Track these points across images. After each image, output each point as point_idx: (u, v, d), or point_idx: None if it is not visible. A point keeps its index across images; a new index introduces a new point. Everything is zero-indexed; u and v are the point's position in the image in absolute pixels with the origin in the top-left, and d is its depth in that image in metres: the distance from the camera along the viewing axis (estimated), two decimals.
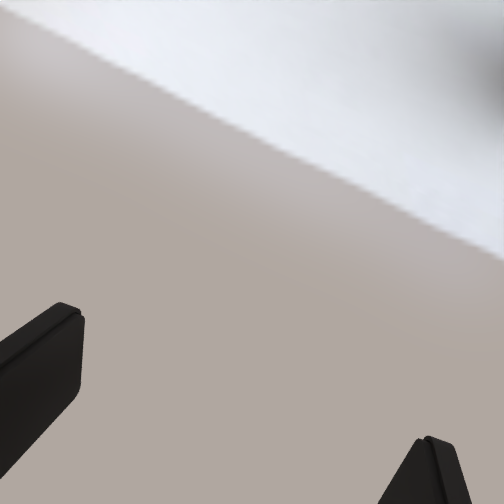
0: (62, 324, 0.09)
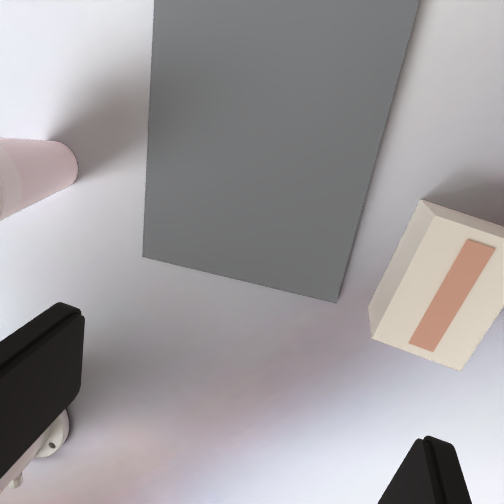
0: (62, 324, 0.09)
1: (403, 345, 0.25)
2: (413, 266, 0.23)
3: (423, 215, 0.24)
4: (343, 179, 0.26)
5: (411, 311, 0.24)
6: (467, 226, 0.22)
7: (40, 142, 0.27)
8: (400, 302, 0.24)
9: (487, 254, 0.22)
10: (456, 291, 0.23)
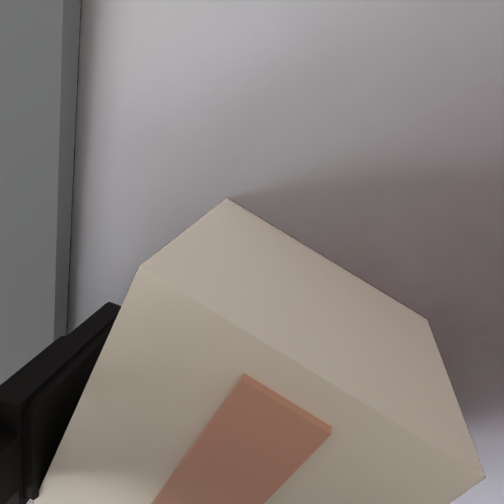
0: None
1: None
2: (89, 408, 0.07)
3: None
4: (0, 134, 0.10)
5: None
6: (250, 331, 0.06)
7: None
8: (68, 487, 0.08)
9: (302, 443, 0.06)
10: None
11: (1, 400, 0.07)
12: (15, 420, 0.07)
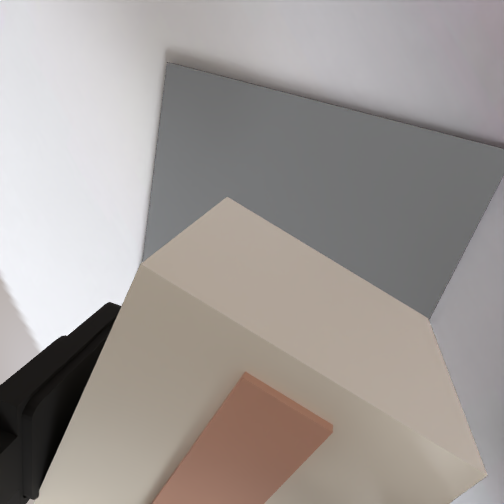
0: None
1: None
2: (90, 407, 0.07)
3: None
4: (334, 139, 0.22)
5: None
6: (251, 329, 0.06)
7: None
8: (69, 485, 0.08)
9: (304, 441, 0.06)
10: None
11: (1, 400, 0.07)
12: (15, 420, 0.07)
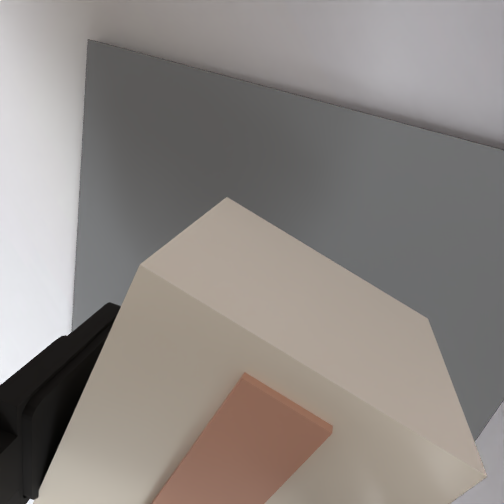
0: None
1: None
2: (90, 408, 0.07)
3: None
4: (345, 161, 0.14)
5: None
6: (250, 330, 0.06)
7: None
8: (69, 486, 0.08)
9: (303, 442, 0.06)
10: None
11: (1, 400, 0.07)
12: (15, 420, 0.07)
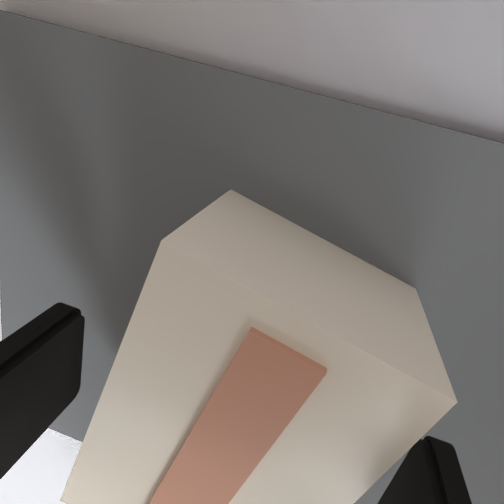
0: (62, 324, 0.09)
1: None
2: (122, 369, 0.08)
3: None
4: (336, 172, 0.10)
5: (133, 470, 0.09)
6: (254, 290, 0.07)
7: None
8: (105, 444, 0.09)
9: (303, 383, 0.07)
10: (225, 454, 0.08)
11: None
12: None
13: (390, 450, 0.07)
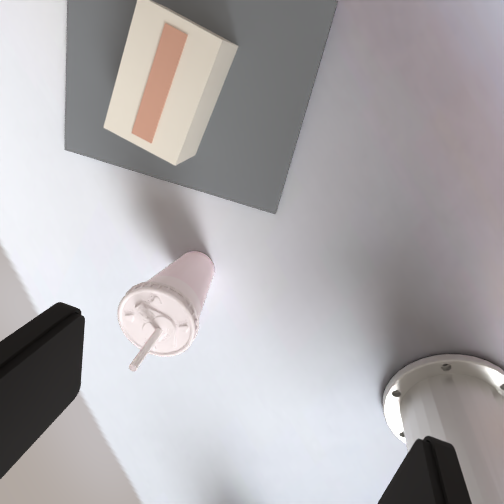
0: (62, 324, 0.09)
1: (129, 135, 0.28)
2: (127, 50, 0.25)
3: None
4: None
5: (131, 99, 0.27)
6: (166, 10, 0.24)
7: None
8: (121, 89, 0.27)
9: (181, 40, 0.24)
10: (161, 78, 0.26)
11: None
12: None
13: (209, 64, 0.25)
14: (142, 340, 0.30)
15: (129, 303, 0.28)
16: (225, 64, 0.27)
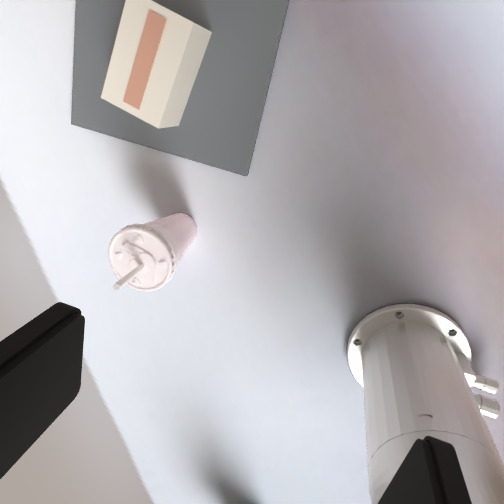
0: (62, 324, 0.09)
1: (121, 104, 0.34)
2: (120, 33, 0.32)
3: None
4: None
5: (123, 73, 0.33)
6: (149, 0, 0.30)
7: None
8: (115, 65, 0.33)
9: (162, 23, 0.31)
10: (146, 54, 0.32)
11: None
12: None
13: (183, 42, 0.31)
14: None
15: (118, 242, 0.34)
16: (200, 45, 0.33)
